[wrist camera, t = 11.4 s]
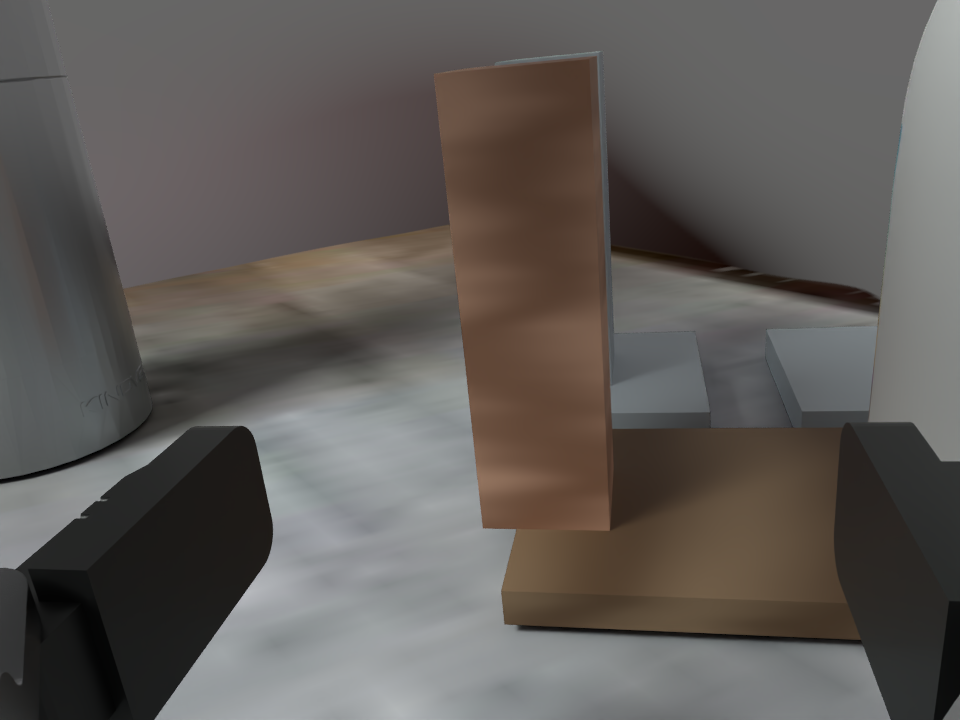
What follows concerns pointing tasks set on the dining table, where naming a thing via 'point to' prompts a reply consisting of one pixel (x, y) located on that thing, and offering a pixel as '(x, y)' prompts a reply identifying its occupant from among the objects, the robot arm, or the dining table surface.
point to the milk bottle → (925, 250)
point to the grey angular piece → (677, 366)
